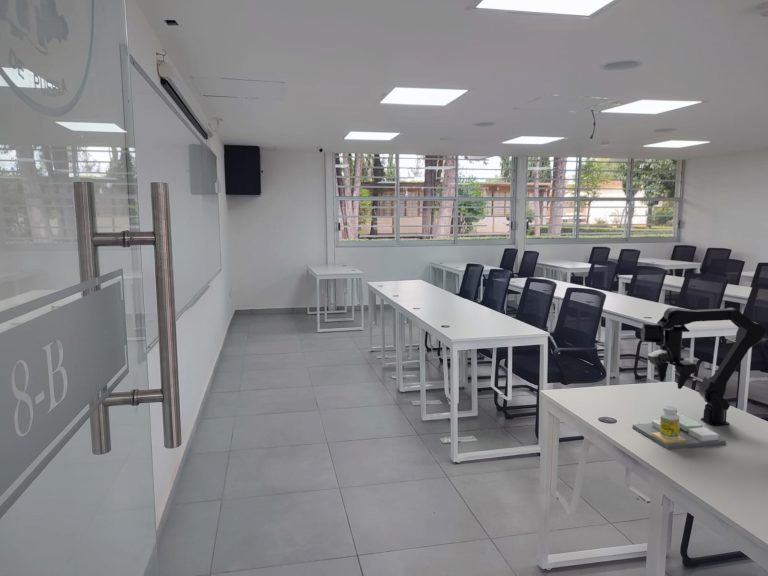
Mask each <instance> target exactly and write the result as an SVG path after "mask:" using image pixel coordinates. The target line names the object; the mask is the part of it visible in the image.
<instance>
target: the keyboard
mask: <svg viewBox="0 0 768 576" xmlns="http://www.w3.org/2000/svg"><path fill="white" fill-rule="evenodd" d="M660 422H661V419H655V420H653V419H652V420H651V422H650V423H649V422H648V423H635V424H632V429H634V430H635V431H637V432H639V433H640V434H641V435H644V436H645V437H647V438H648V439H650V440H652V441H653V442H655V443H657V444H659V446H662V447H663V448H665V449H666V450H674V449H677V450H678V449H688V448H698V447H707V446H718V445H726V444H727V440H726V439H724V438H722V437H720V435H719V434H718V433H716V432H714V431H713V430H711V429H709V428H707V427H702V428H693V429H689V431H687V432H686V431H684V430H682V429H680V426H679V435H678V438H676V439H668V438H665V437H662V436H661V435H660Z"/></svg>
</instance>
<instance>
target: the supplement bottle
mask: <svg viewBox="0 0 768 576" xmlns="http://www.w3.org/2000/svg"><path fill="white" fill-rule="evenodd" d="M662 408H663V409H662V411H663V412H662V413H661V414H660V420H661V422H660V435H661V436H662V437H665V438H668V439H676V438H678V435H679V416H678V415H677V414H676V413H678V408H677V407H674V406H672V405H671V406H670V405H665V406H663V407H662Z"/></svg>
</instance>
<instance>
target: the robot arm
mask: <svg viewBox="0 0 768 576" xmlns="http://www.w3.org/2000/svg"><path fill="white" fill-rule="evenodd" d="M713 321H714V322H715V321H730V322H731V323H733V325H735V327H737V328H738V329H737V331H736V335H735V341H734V343H733V345H732V346H731V347H730V349H729V350H728V352H727V354H726V355H725V356H724V358H723V360H722V362H721V363H720V365H719V366H718V368H717V370H716V371H715V372H714V374H713V375H712V376H709V378H708V377H707V376H704V377H703V379H702V381H701V382H700V383H699V384H698V387H699V388H698V393H699V396H700V397H701V398H703V400H704V402H705V403H706V404H705V405H704V410H703V417H701V418H700V420H702V421H704V422H705V423H707V424H709V425H712V426H714V427H715V426H726V425H730V422H728V421H727V415H728V414H727V413H728V410H729V408H730V406H731V404H730V403H729V402H728V401H727V400H726V399H725V398H724V397H725V395H726V391H727V385H728V381H730V378H731V377H732V376H733V374H734V373H735V371H736V369H737V368H738V367H739V365H740V363H741V362H742V361H743V359H744V358H745V356H746V355H747V353H748V352H749V350H750V349H752V348H753V347H754V346H756V345H757V344H759V342H761V341H762V339H763V338H765V336H766V331H767V330H766V327H765V326H763V325H762V324H761V323H758V322H755V321H753V320H751V319H750V318H748V317H747V316H746V315H745V314H743V313H742V312H741V311H740V310H738V309H736V308H734V307H727V308H714V309H713V308H712V309H711V308H708V309H686V308H681V307H680V308H678V307H668V308H667V309H665V311H664V313H663V316H662V317H661V318H660V319H659V320H658V322H657V323H647V322H646V323H643V324H642V327H641V330H640V340H641V342H642V343H656V344H657V343H661V342H663V344H660V347H659V349H657V350H654V351H652V352H649V353H648V354H647V360H648V361H649V363H650V364H652V365H653V366H654V367H655V369H656V371H657V376H658V379H659V381H660V382H664V381H665V378H666V375H667V370H668V367H669V365H672V366H674V369H675V370H674V372H675V374H676V375H677V376H676V377H677V389H679V390H681V389H682V388H683V387H684V386H685V383H687V381H688V380H689V378H690V377H691V376H692V374H695V373H698V369H699V367H698V365H697V364H696V363H694V362H691V361H685V358H684V357H682V351H683V350H684V351H685V346H683V333H686V332H687V333H689V332H690V330H689V328H687V327H686V325H688V324H689V325H690V324H691V323H697V322H713Z"/></svg>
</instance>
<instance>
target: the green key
mask: <svg viewBox="0 0 768 576" xmlns="http://www.w3.org/2000/svg"><path fill="white" fill-rule="evenodd" d="M676 414H677V415H678V416H679V426H680V429H682V430H684V431H686V432H687V431H689V429H693V428H703V425H702V424H700V423H699V422H697V421H695V420H693V419H691V418H689V417H688V416H685V415H682V414H681V413H678V412H677V413H676Z"/></svg>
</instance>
